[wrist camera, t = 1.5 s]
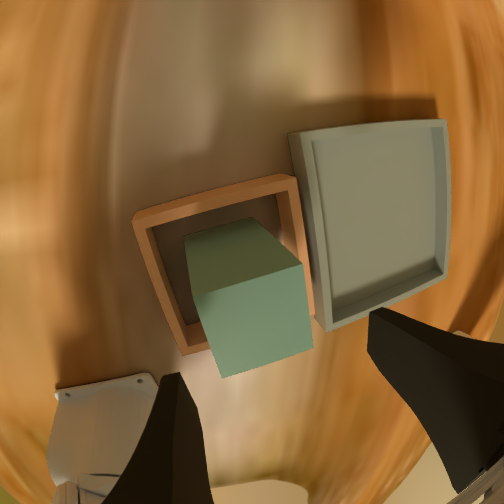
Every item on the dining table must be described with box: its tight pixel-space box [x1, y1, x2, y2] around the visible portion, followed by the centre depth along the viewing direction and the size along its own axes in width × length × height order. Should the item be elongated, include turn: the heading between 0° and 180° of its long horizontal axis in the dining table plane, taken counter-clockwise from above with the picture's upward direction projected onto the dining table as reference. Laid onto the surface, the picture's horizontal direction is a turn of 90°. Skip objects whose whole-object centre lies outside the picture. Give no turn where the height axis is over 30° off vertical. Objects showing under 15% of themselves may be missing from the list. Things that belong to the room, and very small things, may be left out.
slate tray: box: [287, 119, 451, 333], centre depth 21 cm, size 13×14×2 cm
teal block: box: [183, 217, 313, 378], centre depth 16 cm, size 4×4×8 cm
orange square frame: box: [131, 173, 315, 356], centre depth 19 cm, size 9×9×2 cm
